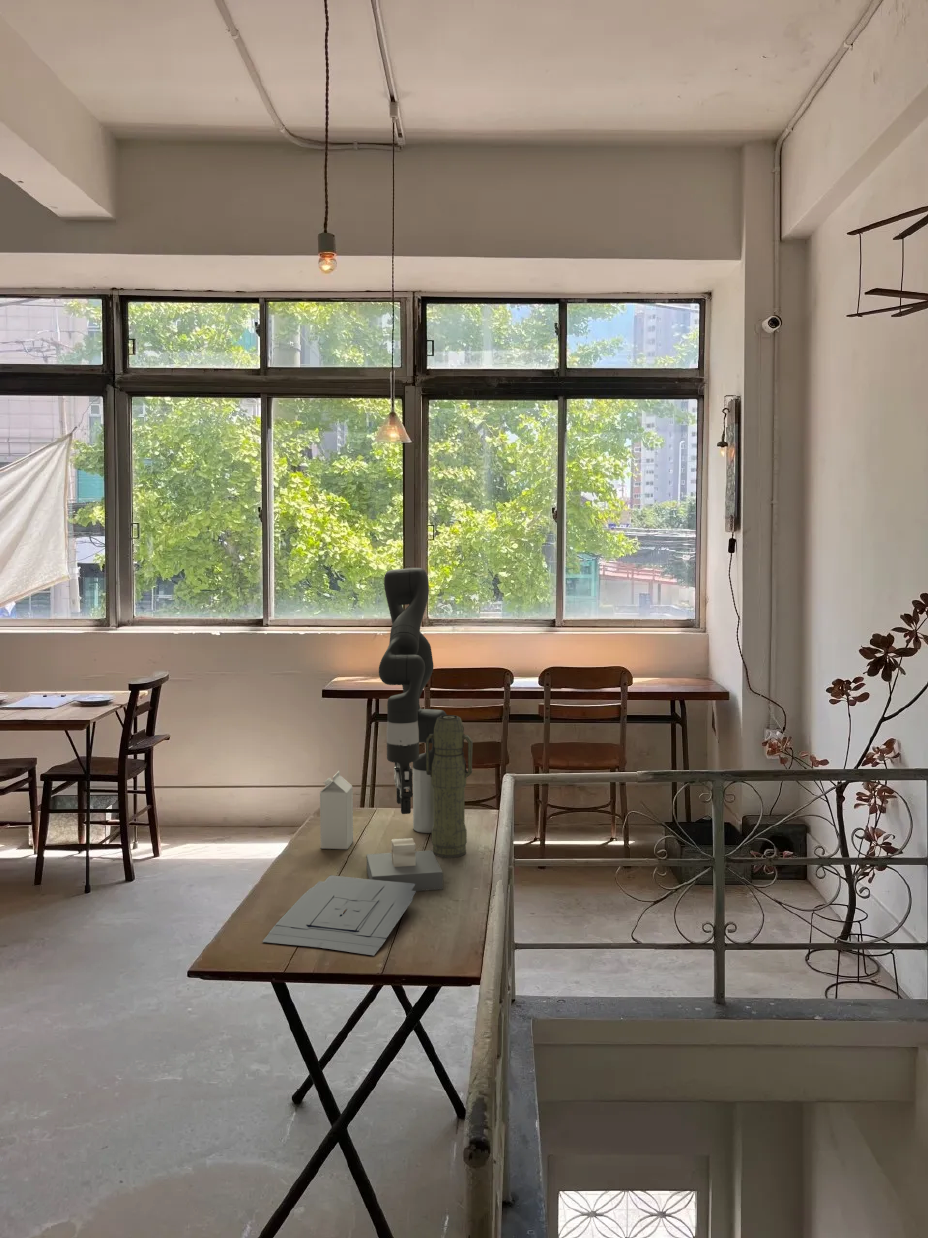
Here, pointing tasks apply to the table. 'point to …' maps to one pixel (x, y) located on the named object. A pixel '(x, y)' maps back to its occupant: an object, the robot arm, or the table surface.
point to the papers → (344, 915)
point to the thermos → (449, 785)
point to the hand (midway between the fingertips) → (403, 808)
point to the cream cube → (403, 852)
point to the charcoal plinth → (407, 870)
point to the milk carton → (336, 813)
